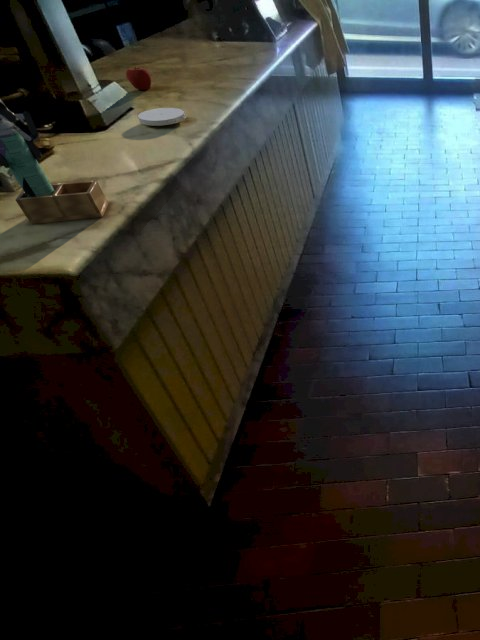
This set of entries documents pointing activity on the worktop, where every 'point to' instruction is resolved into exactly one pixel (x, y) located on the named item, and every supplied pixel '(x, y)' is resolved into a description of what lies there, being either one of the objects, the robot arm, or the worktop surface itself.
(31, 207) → the box
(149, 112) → the plastic lid
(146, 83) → the apple
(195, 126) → the worktop surface
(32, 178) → the spray can
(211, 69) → the worktop surface
